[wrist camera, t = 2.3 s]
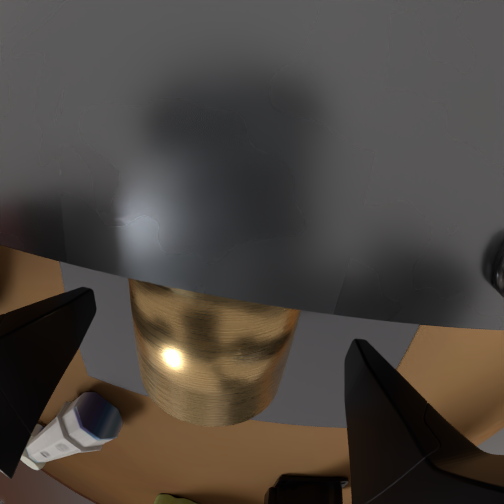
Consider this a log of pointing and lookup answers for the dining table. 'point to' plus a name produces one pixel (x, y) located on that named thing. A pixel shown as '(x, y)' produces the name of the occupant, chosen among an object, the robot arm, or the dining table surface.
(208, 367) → the silver and amber cylinder
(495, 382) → the dining table surface
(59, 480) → the dining table surface
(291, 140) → the plate
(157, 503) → the plant pot
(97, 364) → the mat
